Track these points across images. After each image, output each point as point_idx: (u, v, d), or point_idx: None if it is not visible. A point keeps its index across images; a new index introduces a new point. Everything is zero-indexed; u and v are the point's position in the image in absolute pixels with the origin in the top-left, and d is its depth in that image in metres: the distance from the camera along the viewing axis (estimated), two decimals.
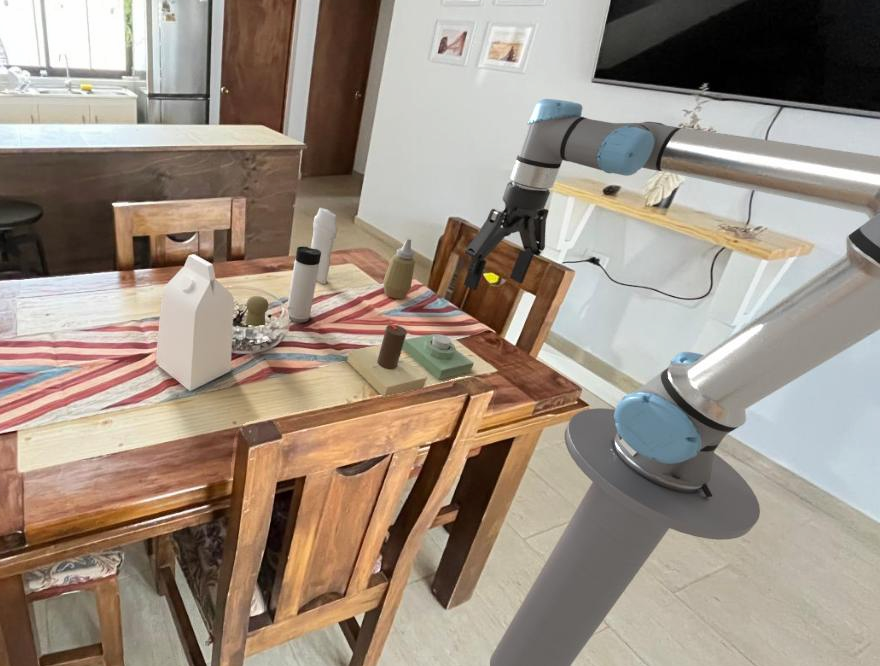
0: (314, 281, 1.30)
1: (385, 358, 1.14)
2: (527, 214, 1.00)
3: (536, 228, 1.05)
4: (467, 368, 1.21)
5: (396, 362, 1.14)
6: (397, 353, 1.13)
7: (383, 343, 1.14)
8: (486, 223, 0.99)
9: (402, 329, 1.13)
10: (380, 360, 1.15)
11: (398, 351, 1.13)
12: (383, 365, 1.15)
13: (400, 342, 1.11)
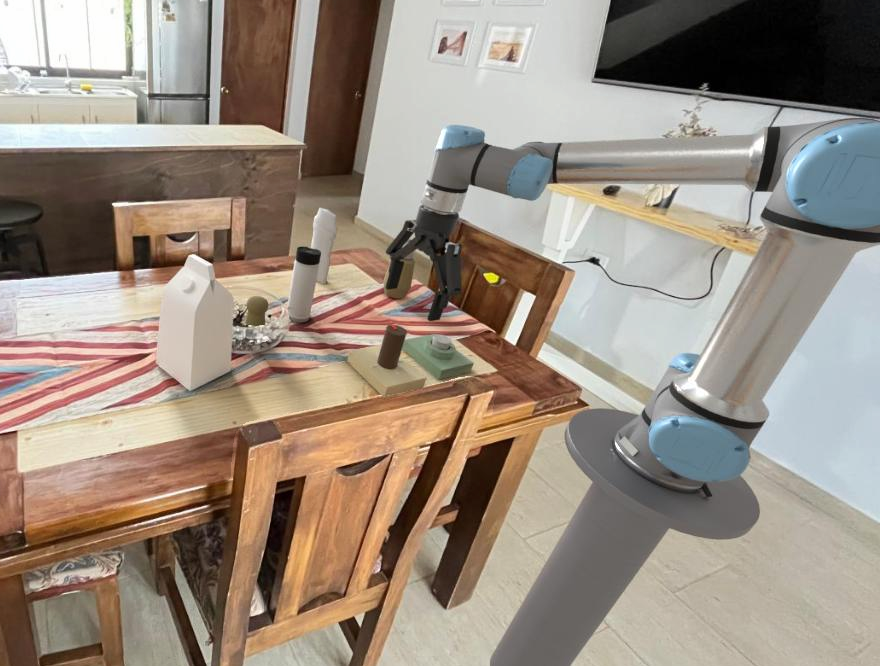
0: (314, 281, 1.30)
1: (385, 358, 1.14)
2: None
3: (405, 238, 1.09)
4: (467, 368, 1.21)
5: (396, 362, 1.14)
6: (397, 353, 1.13)
7: (383, 343, 1.14)
8: (452, 260, 0.97)
9: (402, 329, 1.13)
10: (380, 360, 1.15)
11: (398, 351, 1.13)
12: (383, 365, 1.15)
13: (400, 342, 1.11)
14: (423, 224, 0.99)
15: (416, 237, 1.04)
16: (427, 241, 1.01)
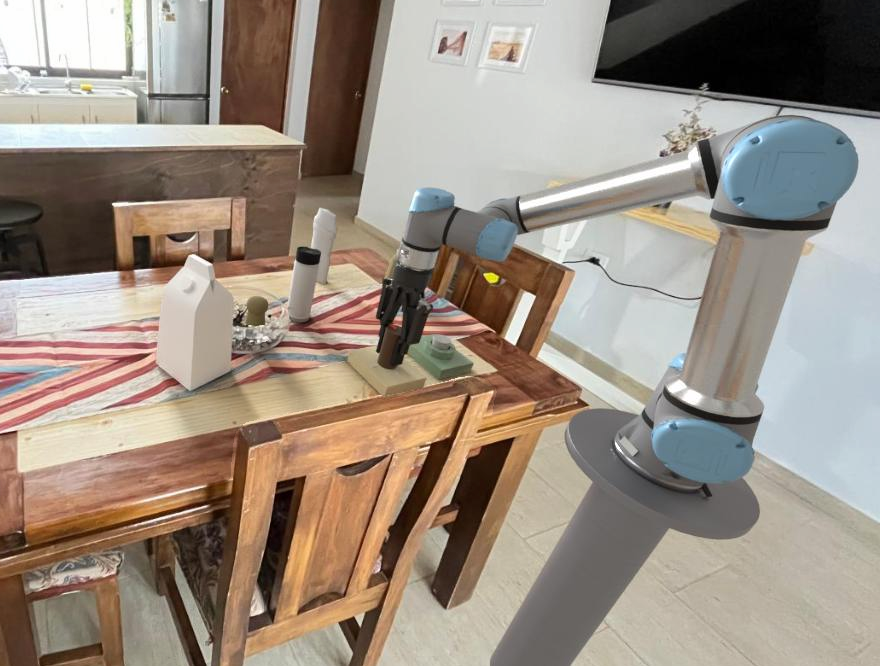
0: (314, 281, 1.30)
1: (385, 358, 1.14)
2: None
3: (388, 298, 1.14)
4: (467, 368, 1.21)
5: None
6: None
7: (383, 343, 1.14)
8: (420, 318, 1.04)
9: None
10: (380, 360, 1.15)
11: None
12: (383, 365, 1.15)
13: None
14: (399, 279, 1.04)
15: (393, 289, 1.09)
16: (404, 294, 1.06)
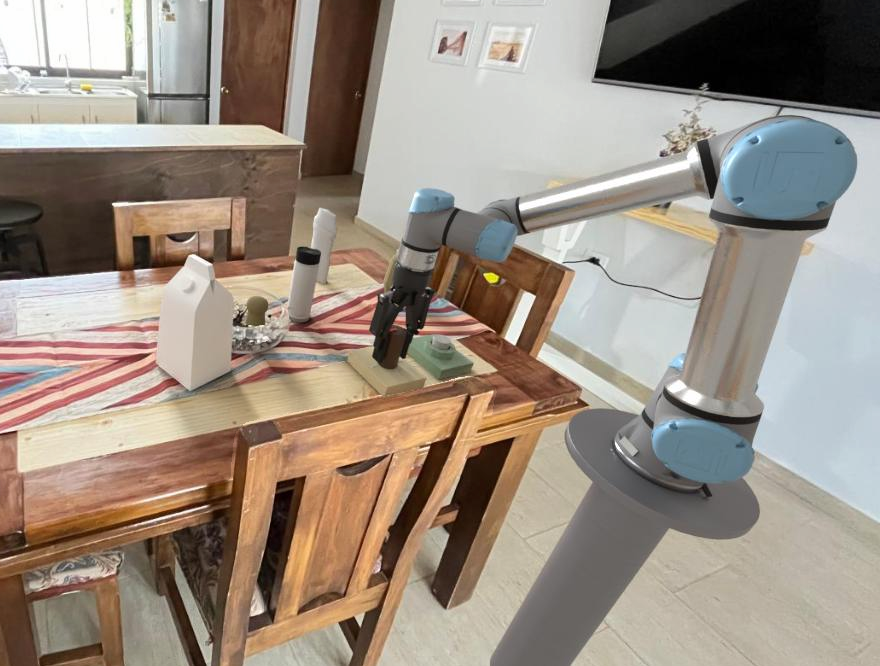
0: (314, 281, 1.30)
1: (398, 358, 1.14)
2: None
3: None
4: (467, 368, 1.21)
5: None
6: None
7: (396, 349, 1.12)
8: None
9: (392, 326, 1.14)
10: (394, 364, 1.14)
11: None
12: (396, 365, 1.15)
13: None
14: (425, 284, 1.04)
15: (405, 299, 1.06)
16: (418, 295, 1.07)
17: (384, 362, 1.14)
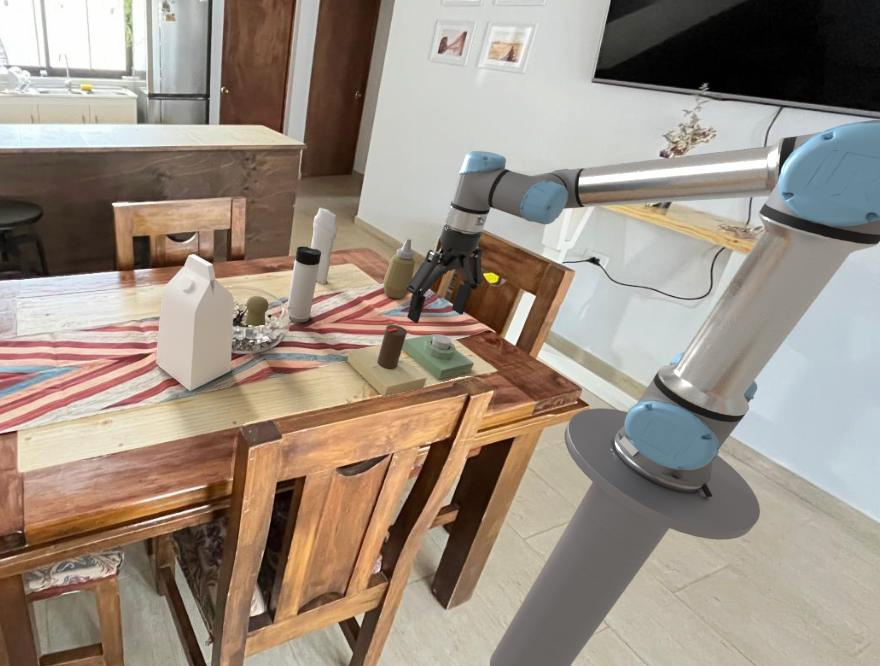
0: (314, 281, 1.30)
1: (398, 358, 1.14)
2: None
3: None
4: (467, 368, 1.21)
5: None
6: None
7: (396, 349, 1.12)
8: None
9: (392, 326, 1.14)
10: (394, 364, 1.14)
11: None
12: (396, 365, 1.15)
13: None
14: (475, 247, 1.05)
15: (454, 262, 1.08)
16: (465, 258, 1.09)
17: (384, 362, 1.14)
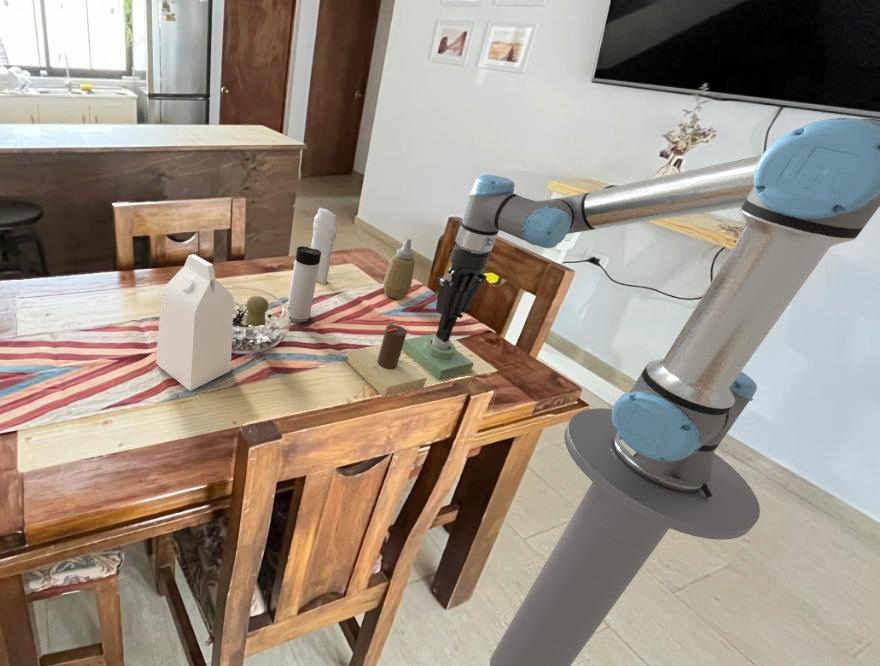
0: (314, 281, 1.30)
1: (398, 358, 1.14)
2: None
3: None
4: (467, 368, 1.21)
5: None
6: None
7: (396, 349, 1.12)
8: None
9: (392, 326, 1.14)
10: (394, 364, 1.14)
11: None
12: (396, 365, 1.15)
13: None
14: (484, 266, 1.10)
15: (463, 279, 1.12)
16: (474, 276, 1.13)
17: (384, 362, 1.14)
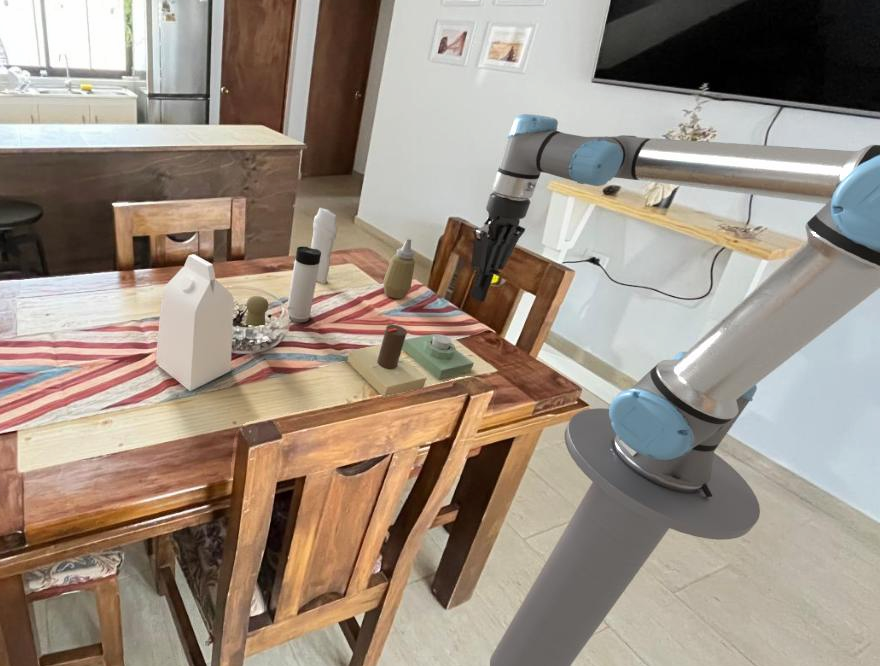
0: (314, 281, 1.30)
1: (398, 358, 1.14)
2: None
3: None
4: (467, 368, 1.21)
5: None
6: None
7: (396, 349, 1.12)
8: None
9: (392, 326, 1.14)
10: (394, 364, 1.14)
11: None
12: (396, 365, 1.15)
13: None
14: (524, 214, 1.02)
15: (502, 230, 1.04)
16: (513, 227, 1.05)
17: (384, 362, 1.14)
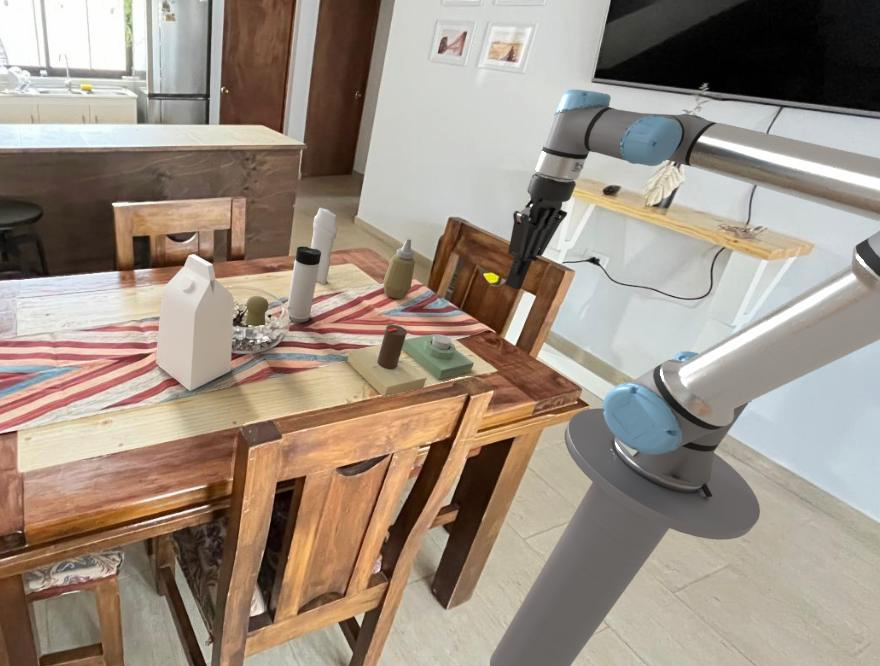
0: (314, 281, 1.30)
1: (398, 358, 1.14)
2: None
3: None
4: (467, 368, 1.21)
5: None
6: None
7: (396, 349, 1.12)
8: None
9: (392, 326, 1.14)
10: (394, 364, 1.14)
11: None
12: (396, 365, 1.15)
13: None
14: (569, 197, 0.97)
15: (544, 214, 0.99)
16: (556, 211, 1.00)
17: (384, 362, 1.14)
